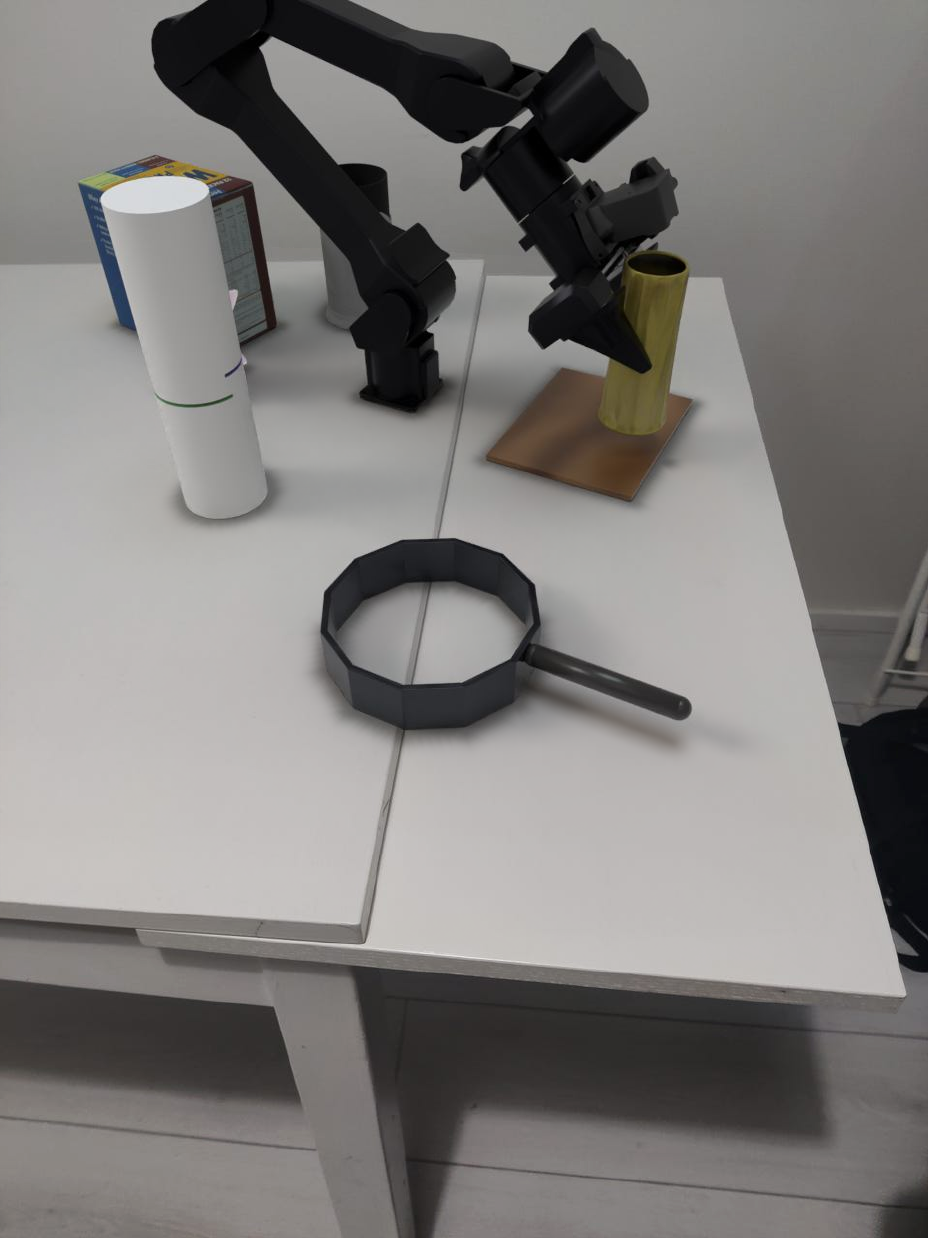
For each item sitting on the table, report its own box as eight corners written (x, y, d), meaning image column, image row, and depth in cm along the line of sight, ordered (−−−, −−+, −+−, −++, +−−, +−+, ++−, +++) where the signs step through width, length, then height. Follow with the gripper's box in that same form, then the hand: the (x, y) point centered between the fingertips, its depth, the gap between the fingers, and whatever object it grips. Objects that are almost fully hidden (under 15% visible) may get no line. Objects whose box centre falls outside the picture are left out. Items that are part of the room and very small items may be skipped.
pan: (286, 680, 61) (278, 640, 58) (395, 556, 71) (392, 517, 68) (645, 830, 53) (655, 792, 50) (714, 666, 62) (726, 626, 59)
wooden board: (485, 459, 80) (485, 454, 80) (561, 372, 92) (562, 366, 91) (630, 502, 76) (631, 496, 75) (691, 404, 87) (692, 398, 87)
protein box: (187, 292, 106) (154, 152, 95) (279, 326, 99) (255, 180, 88) (117, 324, 100) (73, 180, 89) (210, 363, 93) (175, 212, 82)
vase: (668, 438, 77) (700, 280, 67) (598, 435, 78) (620, 277, 68) (661, 402, 82) (691, 248, 72) (596, 399, 82) (616, 245, 72)
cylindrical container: (283, 481, 78) (230, 184, 60) (236, 527, 73) (163, 220, 56) (217, 462, 80) (147, 170, 63) (167, 505, 76) (77, 203, 58)
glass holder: (339, 335, 97) (323, 194, 87) (303, 285, 107) (285, 152, 96) (412, 321, 100) (405, 181, 89) (371, 273, 109) (360, 142, 99)
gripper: (582, 170, 58) (711, 357, 63) (659, 98, 70) (762, 260, 75) (473, 265, 66) (594, 425, 71) (558, 186, 78) (658, 327, 83)
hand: (657, 355), depth 75 cm, fingers closed on vase, 5 cm apart
